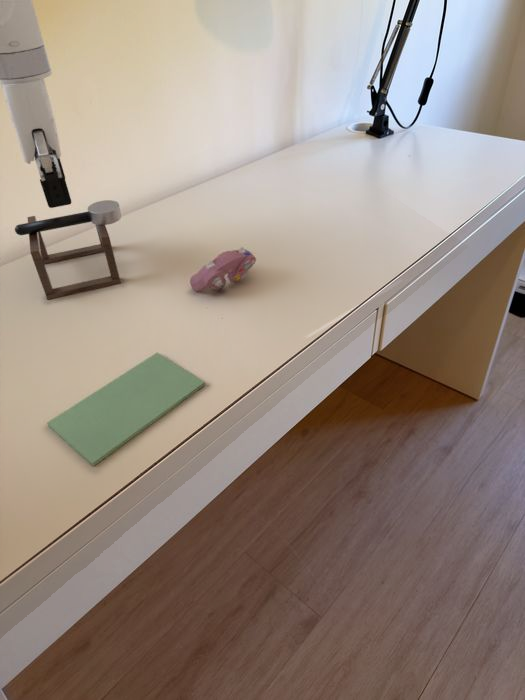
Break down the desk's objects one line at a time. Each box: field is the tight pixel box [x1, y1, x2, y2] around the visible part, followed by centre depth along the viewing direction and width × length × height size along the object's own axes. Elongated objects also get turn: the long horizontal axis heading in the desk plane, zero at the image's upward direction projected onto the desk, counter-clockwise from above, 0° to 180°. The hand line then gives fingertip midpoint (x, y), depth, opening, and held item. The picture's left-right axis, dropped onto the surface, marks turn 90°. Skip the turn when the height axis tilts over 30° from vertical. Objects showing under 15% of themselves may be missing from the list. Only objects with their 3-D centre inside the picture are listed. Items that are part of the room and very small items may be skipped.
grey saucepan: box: [14, 199, 123, 236], centre depth 81 cm, size 16×5×2 cm, turn 111°
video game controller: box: [189, 246, 257, 292], centre depth 79 cm, size 10×5×7 cm, turn 131°
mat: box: [46, 352, 206, 467], centre depth 61 cm, size 16×9×1 cm, turn 138°
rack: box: [27, 215, 121, 300], centre depth 84 cm, size 11×13×8 cm
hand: (57, 192), depth 78 cm, fingers open, 9 cm apart
